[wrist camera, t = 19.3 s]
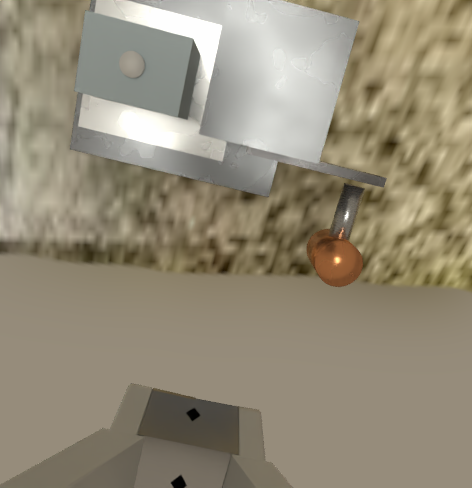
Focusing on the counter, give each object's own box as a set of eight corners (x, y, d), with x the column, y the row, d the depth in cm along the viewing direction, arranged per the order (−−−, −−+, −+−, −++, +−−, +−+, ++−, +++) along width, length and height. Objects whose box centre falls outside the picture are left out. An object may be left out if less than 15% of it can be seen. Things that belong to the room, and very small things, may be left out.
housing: (101, 98, 34) (71, 90, 28) (111, 32, 33) (83, 8, 27) (187, 119, 35) (177, 116, 28) (200, 55, 33) (192, 36, 27)
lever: (301, 263, 32) (310, 281, 28) (326, 177, 30) (339, 184, 26) (340, 272, 32) (354, 291, 28) (367, 187, 30) (386, 195, 27)
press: (75, 148, 37) (-72, 161, 19) (101, -31, 33) (-48, -213, 16) (333, 211, 38) (415, 276, 21) (383, 44, 35) (532, -47, 17)
